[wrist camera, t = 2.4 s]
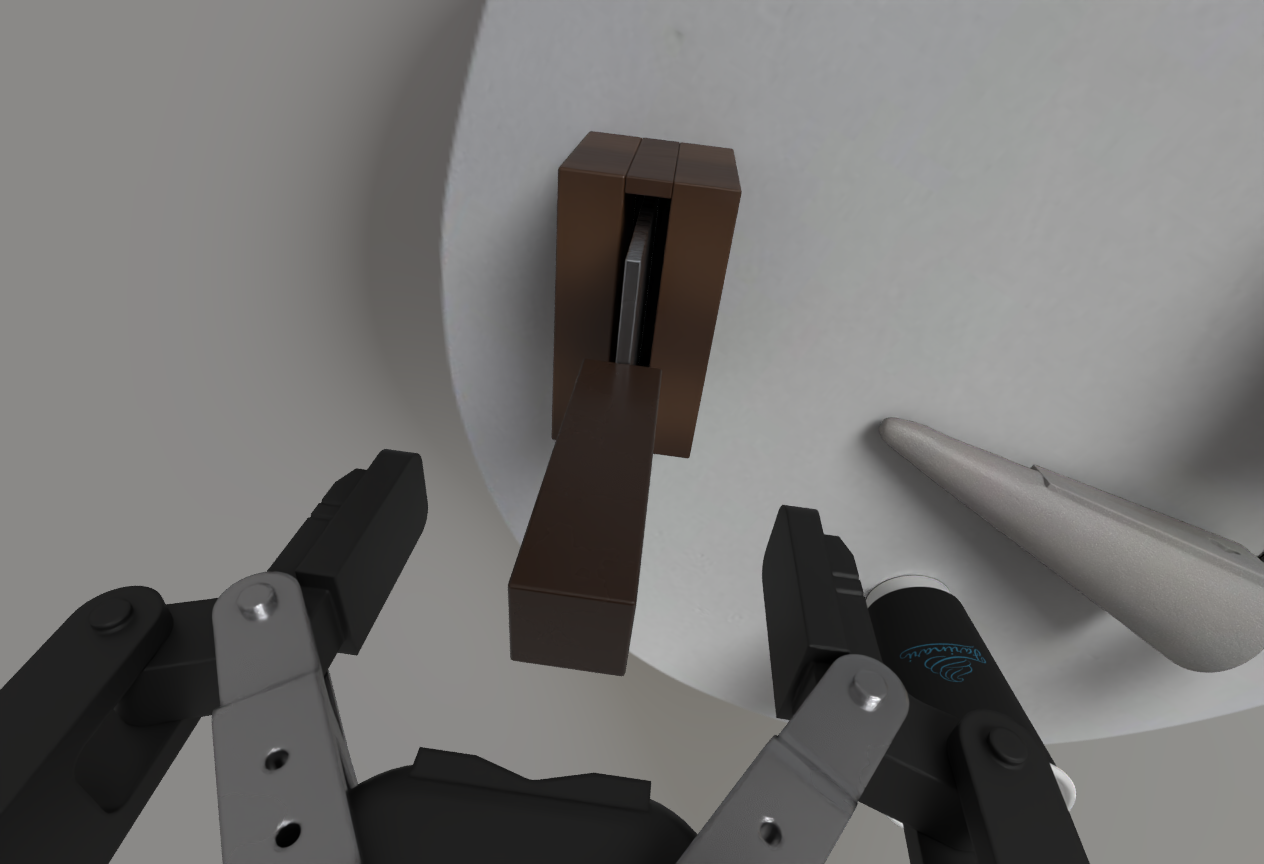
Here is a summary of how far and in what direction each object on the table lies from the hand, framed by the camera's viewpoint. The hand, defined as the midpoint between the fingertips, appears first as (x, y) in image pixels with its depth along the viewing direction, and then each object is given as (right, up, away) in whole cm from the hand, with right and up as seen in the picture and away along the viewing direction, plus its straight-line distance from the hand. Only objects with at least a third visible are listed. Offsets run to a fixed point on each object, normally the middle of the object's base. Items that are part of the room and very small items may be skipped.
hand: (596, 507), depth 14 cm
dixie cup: (+17, -8, +22) cm, 29 cm away
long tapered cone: (+21, -2, +17) cm, 27 cm away
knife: (+1, +9, +12) cm, 15 cm away
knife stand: (+1, +9, +12) cm, 15 cm away
